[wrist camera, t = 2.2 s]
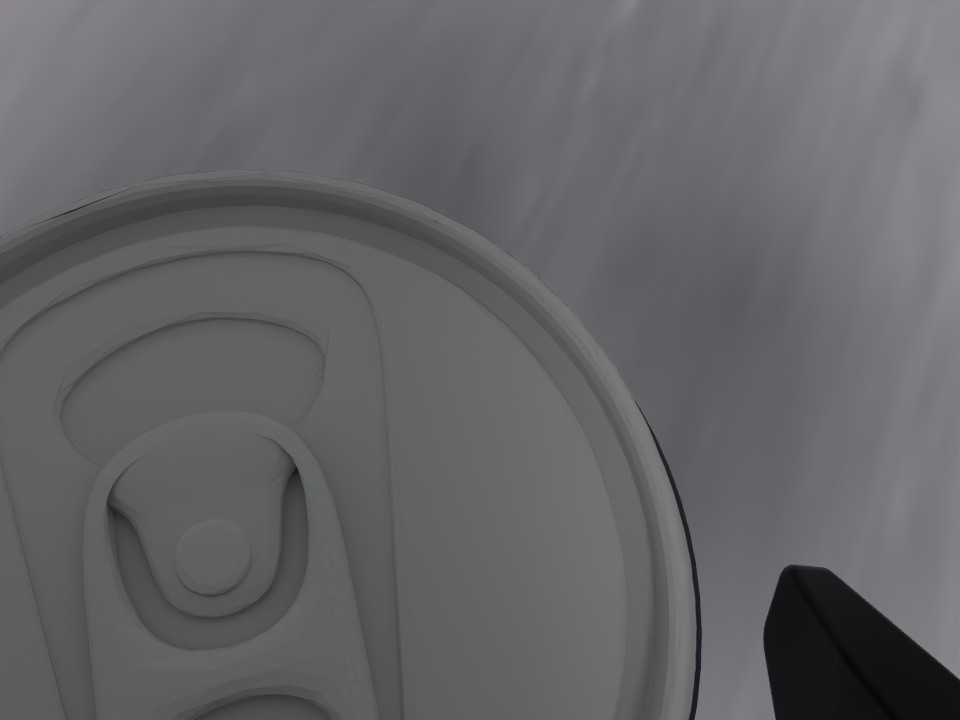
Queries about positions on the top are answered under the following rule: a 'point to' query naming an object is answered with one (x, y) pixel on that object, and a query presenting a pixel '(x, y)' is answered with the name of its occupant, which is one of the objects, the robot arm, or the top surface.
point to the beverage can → (320, 472)
